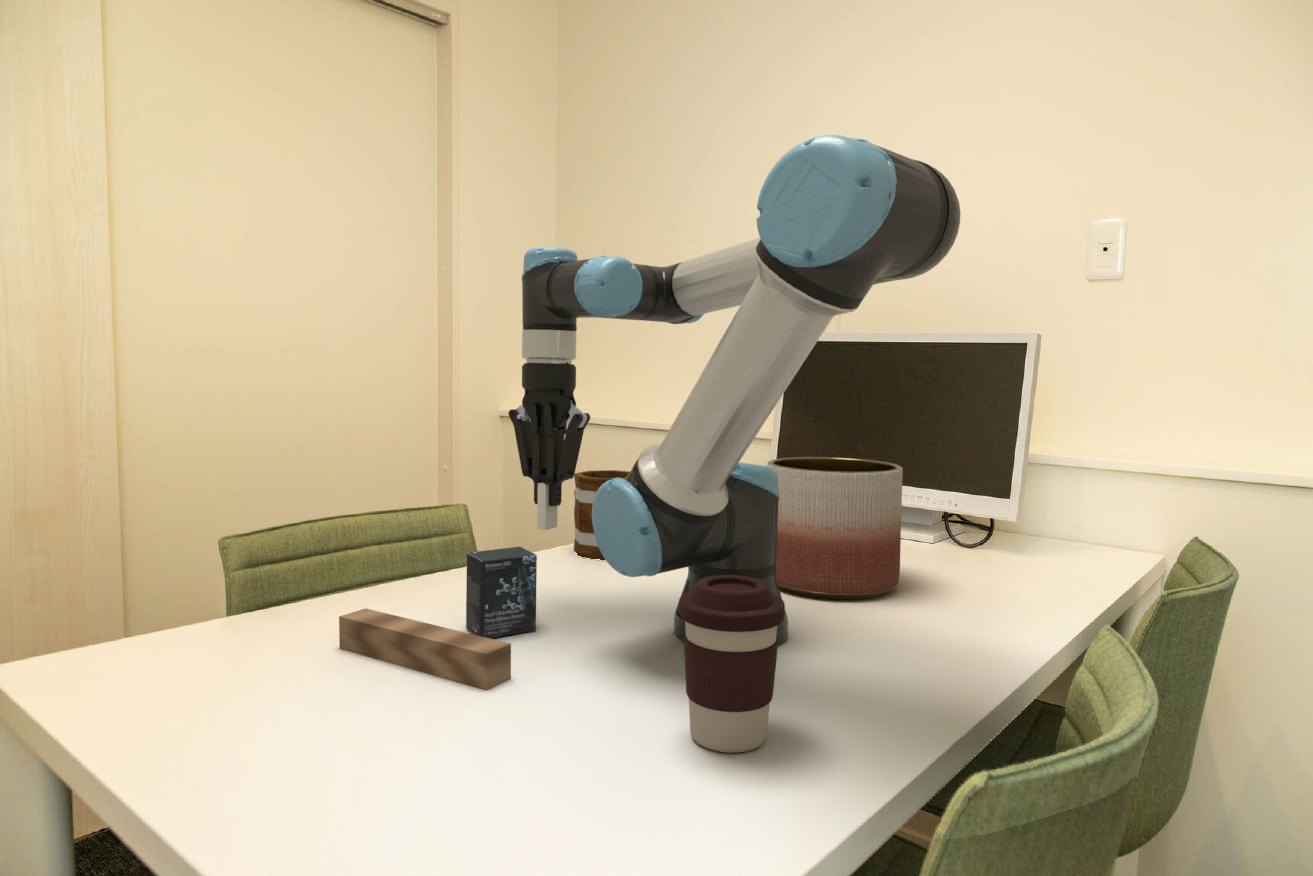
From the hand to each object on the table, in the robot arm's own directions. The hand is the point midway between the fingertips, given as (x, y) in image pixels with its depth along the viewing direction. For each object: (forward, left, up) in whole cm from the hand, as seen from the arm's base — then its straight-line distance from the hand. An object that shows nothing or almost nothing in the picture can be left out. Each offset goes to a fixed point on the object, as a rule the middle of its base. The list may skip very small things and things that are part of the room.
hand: (547, 527), depth 115 cm
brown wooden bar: (0, +24, -12) cm, 27 cm away
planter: (-29, -38, -12) cm, 49 cm away
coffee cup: (-39, +22, -12) cm, 47 cm away
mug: (+11, -35, -12) cm, 39 cm away
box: (0, +10, -12) cm, 16 cm away
